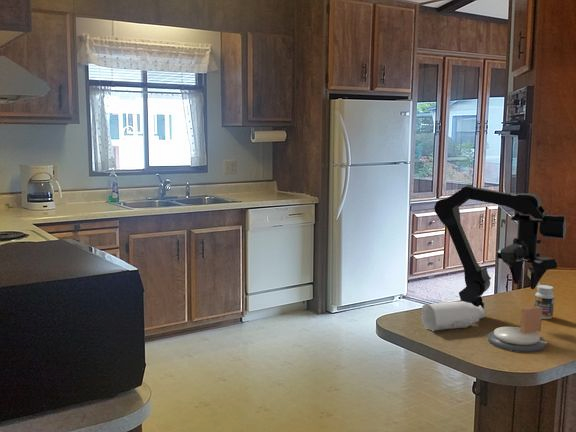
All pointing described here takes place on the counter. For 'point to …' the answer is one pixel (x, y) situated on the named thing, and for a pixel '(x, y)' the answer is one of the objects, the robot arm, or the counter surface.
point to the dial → (523, 328)
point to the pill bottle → (545, 300)
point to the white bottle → (450, 315)
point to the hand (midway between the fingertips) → (524, 286)
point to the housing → (515, 347)
